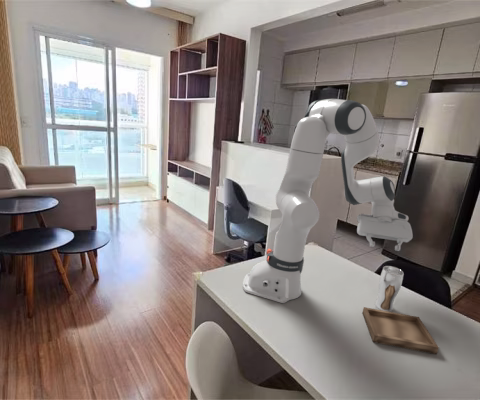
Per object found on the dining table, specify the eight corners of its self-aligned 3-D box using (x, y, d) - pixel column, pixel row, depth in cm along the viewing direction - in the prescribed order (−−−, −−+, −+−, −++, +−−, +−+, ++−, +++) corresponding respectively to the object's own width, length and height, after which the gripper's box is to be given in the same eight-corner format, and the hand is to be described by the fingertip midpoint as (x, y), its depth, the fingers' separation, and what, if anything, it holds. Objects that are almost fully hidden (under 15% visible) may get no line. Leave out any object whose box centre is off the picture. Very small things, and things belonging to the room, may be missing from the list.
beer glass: (396, 314, 103) (407, 277, 99) (375, 310, 104) (385, 273, 100) (390, 303, 109) (400, 267, 105) (371, 299, 111) (380, 264, 107)
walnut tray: (372, 342, 88) (374, 335, 88) (362, 313, 102) (363, 307, 101) (436, 354, 86) (438, 347, 85) (416, 323, 99) (418, 317, 99)
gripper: (359, 209, 118) (359, 241, 112) (412, 216, 116) (416, 249, 109) (354, 216, 124) (354, 246, 117) (405, 223, 121) (408, 255, 115)
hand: (384, 248), depth 113 cm, fingers open, 8 cm apart
